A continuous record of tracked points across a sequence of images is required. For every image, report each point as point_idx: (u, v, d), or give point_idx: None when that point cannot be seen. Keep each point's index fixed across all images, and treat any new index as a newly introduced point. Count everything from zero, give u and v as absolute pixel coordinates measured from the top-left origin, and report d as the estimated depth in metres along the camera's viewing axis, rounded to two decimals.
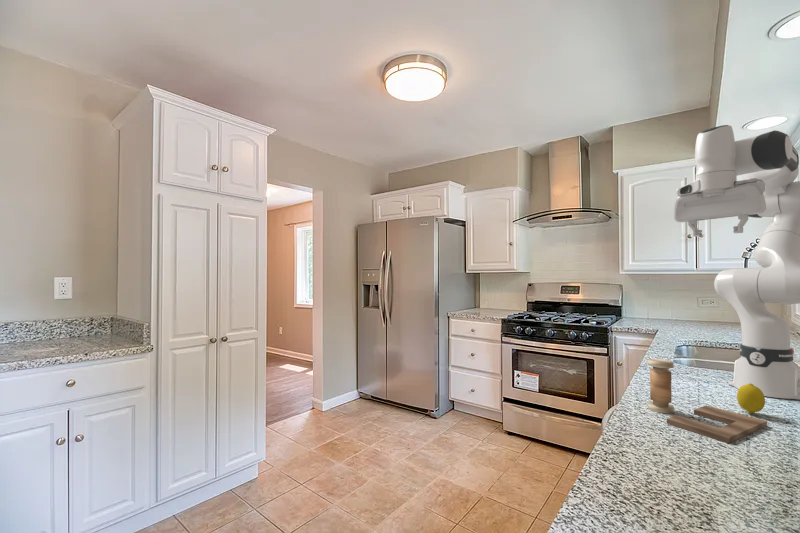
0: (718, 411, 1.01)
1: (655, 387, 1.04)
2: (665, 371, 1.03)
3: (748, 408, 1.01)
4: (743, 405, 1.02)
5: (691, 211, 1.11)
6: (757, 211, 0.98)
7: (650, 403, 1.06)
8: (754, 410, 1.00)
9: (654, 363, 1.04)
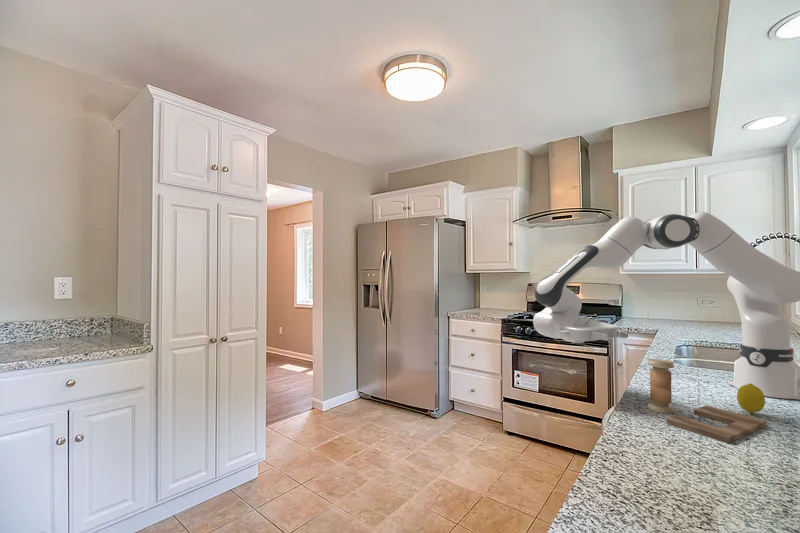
0: (718, 411, 1.01)
1: (655, 387, 1.04)
2: (665, 371, 1.03)
3: (748, 408, 1.01)
4: (743, 405, 1.02)
5: None
6: (583, 340, 1.15)
7: (650, 403, 1.06)
8: (754, 410, 1.00)
9: (654, 363, 1.04)
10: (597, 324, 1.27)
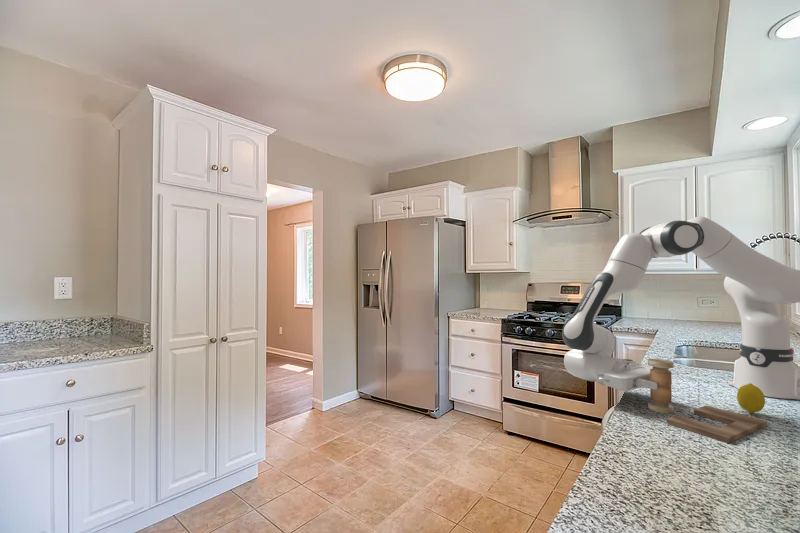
0: (718, 411, 1.01)
1: None
2: (665, 371, 1.03)
3: (748, 408, 1.01)
4: (743, 405, 1.02)
5: None
6: (625, 390, 1.04)
7: (650, 403, 1.06)
8: (754, 410, 1.00)
9: (654, 363, 1.04)
10: (637, 366, 1.16)
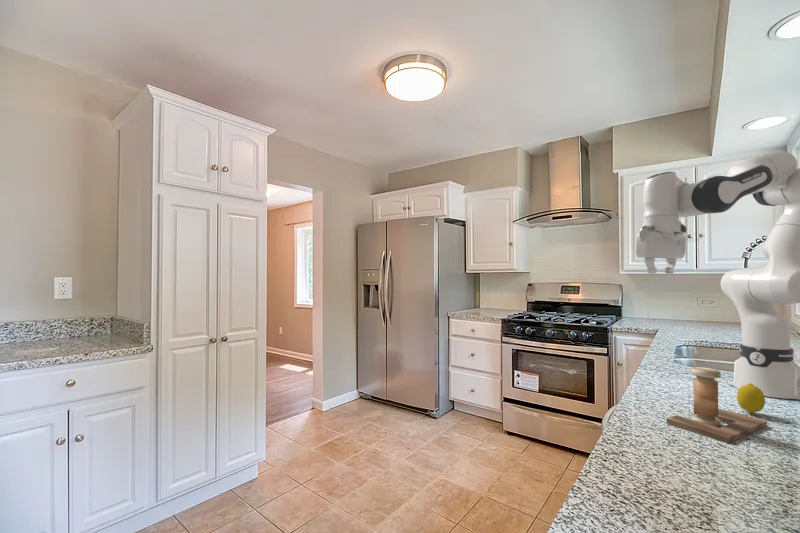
0: (718, 411, 1.01)
1: (700, 398, 0.95)
2: (711, 381, 0.94)
3: (748, 408, 1.01)
4: (743, 405, 1.02)
5: None
6: (637, 256, 1.12)
7: (693, 416, 0.97)
8: (754, 410, 1.00)
9: (699, 372, 0.95)
10: (677, 238, 1.16)
